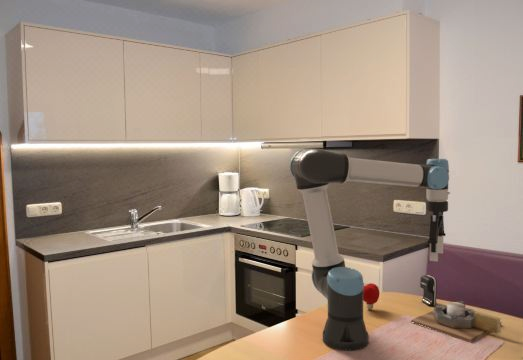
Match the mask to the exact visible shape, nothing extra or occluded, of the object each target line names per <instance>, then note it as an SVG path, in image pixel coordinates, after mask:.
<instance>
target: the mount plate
mask: <svg viewBox="0 0 523 360" xmlns="http://www.w3.org/2000/svg"><path fill="white" fill-rule="evenodd" d="M446 305H447V315H450V316H451V314H452V313H456V314H457V317H465V308H466V301H463V300H459V301H456V302H455V301H450V302H447V304H446ZM411 322H414V323H417V324H420V325H423V326H426V327H429V328H431V329H430V330H432V329H434V330H433V331H435V330H437V331H436V332H438V331H439V333H441V332H442V333H441V334H444V333H445V335H447V334H448V335H447V336H450V335H451V336H450V337H453V336H454V337H453V338H456V339H459V340H462V341H466V342H468V343H472V342H474V341H476V340H477V339H479V338H480V337H482V336H484V335H486V334H488V333H490V332H489V331H485V330H482V329H479V328H476V327H472V328H452V327H449V326H446V325H443V324H440V323H438V322H437V321H436V320H435V318H434V309H433V310H431V311H428V312H426V313H424V314H422V315H420V316H417V317H415V318H412V319H411V321H410V323H411ZM414 323H413V324H414ZM417 324H416V325H417ZM420 325H419V326H420ZM423 326H422V327H423ZM501 326H502V322H501V321H500V327H501ZM426 327H425V328H426ZM429 328H428V329H429ZM473 340H474V341H473ZM471 341H472V342H471Z"/></svg>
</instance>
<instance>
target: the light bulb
mask: <svg viewBox="0 0 523 360" xmlns="http://www.w3.org/2000/svg"><path fill="white" fill-rule="evenodd" d="M379 298H380V289H379V287H378V286H377V285H376V284H375V283H367V284H366V285H364V288H363V302H365V304H366V305H365V306H366V309H367V310H369V311H372V310H373V309H374V304H376V303H377V302H378V301H379Z"/></svg>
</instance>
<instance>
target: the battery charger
mask: <svg viewBox="0 0 523 360" xmlns="http://www.w3.org/2000/svg"><path fill="white" fill-rule="evenodd" d="M419 283H420V284H419V287H420V288H422V289H423V296H422V298H421V303H423V304H425V305H427V306H429V307H436V305H437V291H438V290H437V289H438V288H437V287H438V286H437V279H436V278H435V277H434V276H432V275H429V274H426V275H421V276H420V282H419Z"/></svg>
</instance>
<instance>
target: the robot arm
mask: <svg viewBox="0 0 523 360" xmlns="http://www.w3.org/2000/svg"><path fill="white" fill-rule="evenodd" d="M449 166H450V165H449V160H448V159H446V158H428V159H426V163H425V164H417V163H415V164H414V163H404V162H395V161H386V160H385V161H384V160H375V159H366V158H356V157H355V158H354V157H349V155H348V154H346V153H338V152H333V151H329V150H326V149H323V148H310V147H308V148H302V149H300V150H297V151H296V152H295V153H294V155H293V156H292V157H291V158H290V162H289V170H290V173H291V175H292V176H293V178H294V180H295V187H296V190H297V191H298V192H299V193H301V194H302V198H303V203H304V209H305V213H306V219H307V224H308V230H309V234H310V238H311V244H312V249H313V254H314V255H313V256H314V258H313V259H312V261H311V265H312V266H311V267H312V271H311V281H312V283H313V286H314V287H315V289H316V290H317V291H318V292H319V293H320V294H321V295H322V296H324V298H326V300H327V318H326V321H325V325H324V328H323V331H322V342H323V343H324V345H326V346H327V347H330V348H332V349H335V350H341V351H356V350H357V351H358V350H361V349H364V348H366V347H367V346H369V343H370V337H369V336H370V335H369V333H368V331H367V328H366V324H365V319H364V301H363V288H364V286H365V282H364V277H363V274H362V273H361V272H360V271H359V270H357V269H355V268H351V267H346V263H345V257H344V256H343V255H341V254H340V253H339V248H338V242H337V239H336V233H335V228H334V222H333V218H332V212H331V206H330V201H329V197H328V191H327V189H328V187H329V185H330V184H345V183H346V182H356V183H357V182H359V183H368V184H369V183H371V184H381V185H392V186H393V185H394V186H403V187H413V188H414V187H417V188H421V189H422V188H424V189H426V191H425V192H426V193H425V194H426V196H425V197H426V207H425V208H426V211H427V212H432V215H430V223H429V236H428V239H427V242H426V243H427V244H429V262H431V261H432V262H439V254H444V237H446V233H445V224H444V223H445V222H444V213H445V212H448V211H449V202H448V201H447V200H448V199H449V195H450V194H451V192H450V191H449V181H450V174H449V173H450V169H449V168H450V167H449Z"/></svg>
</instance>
